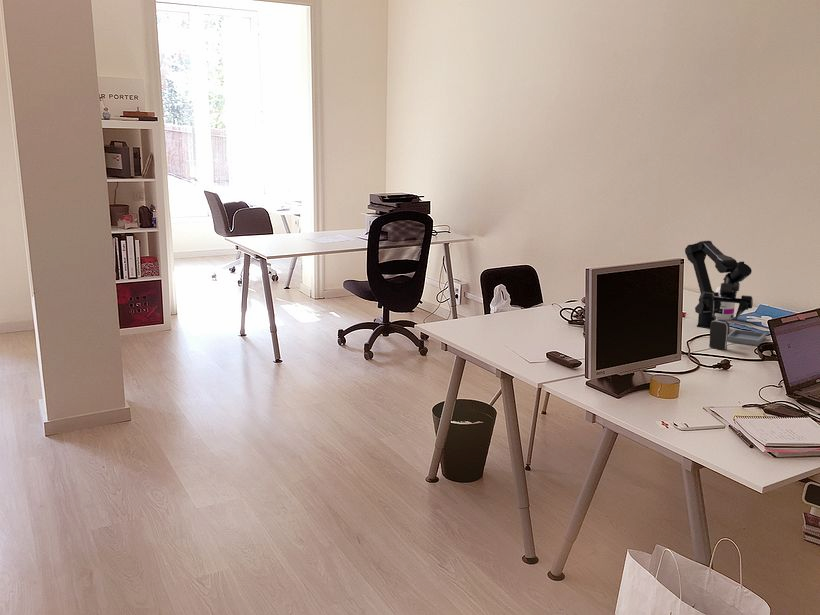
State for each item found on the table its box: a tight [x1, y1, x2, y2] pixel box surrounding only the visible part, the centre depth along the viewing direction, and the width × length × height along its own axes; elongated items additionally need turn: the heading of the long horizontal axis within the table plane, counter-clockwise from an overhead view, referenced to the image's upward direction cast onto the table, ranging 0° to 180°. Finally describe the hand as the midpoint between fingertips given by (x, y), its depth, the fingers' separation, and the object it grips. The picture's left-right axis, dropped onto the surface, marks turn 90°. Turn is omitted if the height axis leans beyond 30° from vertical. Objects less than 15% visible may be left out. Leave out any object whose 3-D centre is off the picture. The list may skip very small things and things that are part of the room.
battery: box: [708, 319, 731, 351], centre depth 281 cm, size 7×4×11 cm, turn 37°
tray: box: [727, 328, 767, 347], centre depth 291 cm, size 12×12×2 cm
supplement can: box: [715, 285, 736, 321], centre depth 322 cm, size 8×8×15 cm
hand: (723, 317), depth 284 cm, fingers open, 9 cm apart
